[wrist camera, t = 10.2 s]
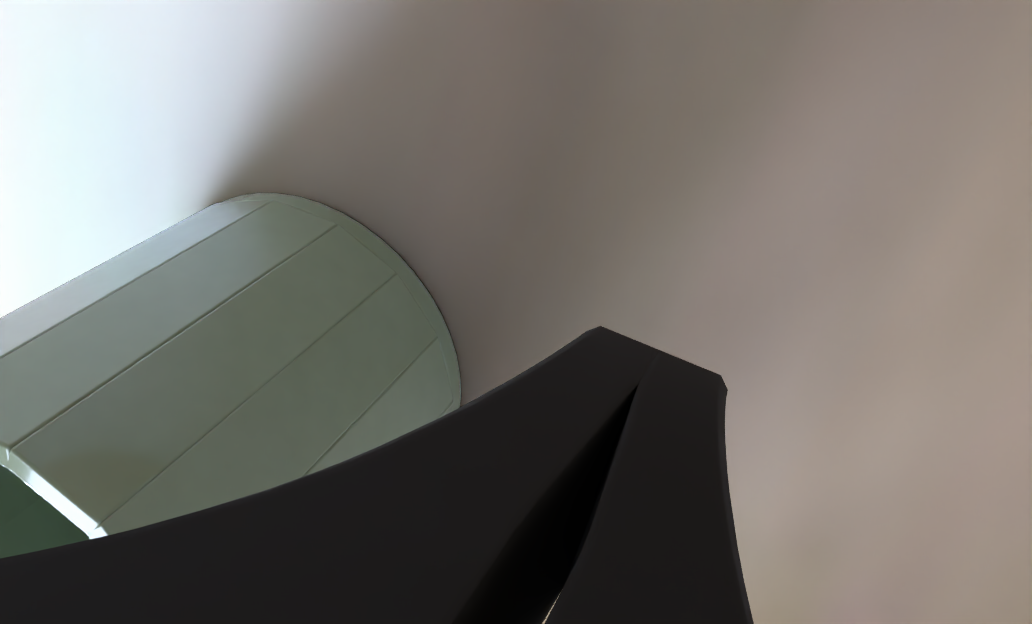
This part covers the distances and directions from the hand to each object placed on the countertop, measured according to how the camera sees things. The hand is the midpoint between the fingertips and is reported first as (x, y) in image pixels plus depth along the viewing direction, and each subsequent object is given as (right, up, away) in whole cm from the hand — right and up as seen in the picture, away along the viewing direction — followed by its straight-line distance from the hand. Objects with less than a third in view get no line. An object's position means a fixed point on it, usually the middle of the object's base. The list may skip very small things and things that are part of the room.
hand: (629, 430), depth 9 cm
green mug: (-6, -1, +15) cm, 16 cm away
